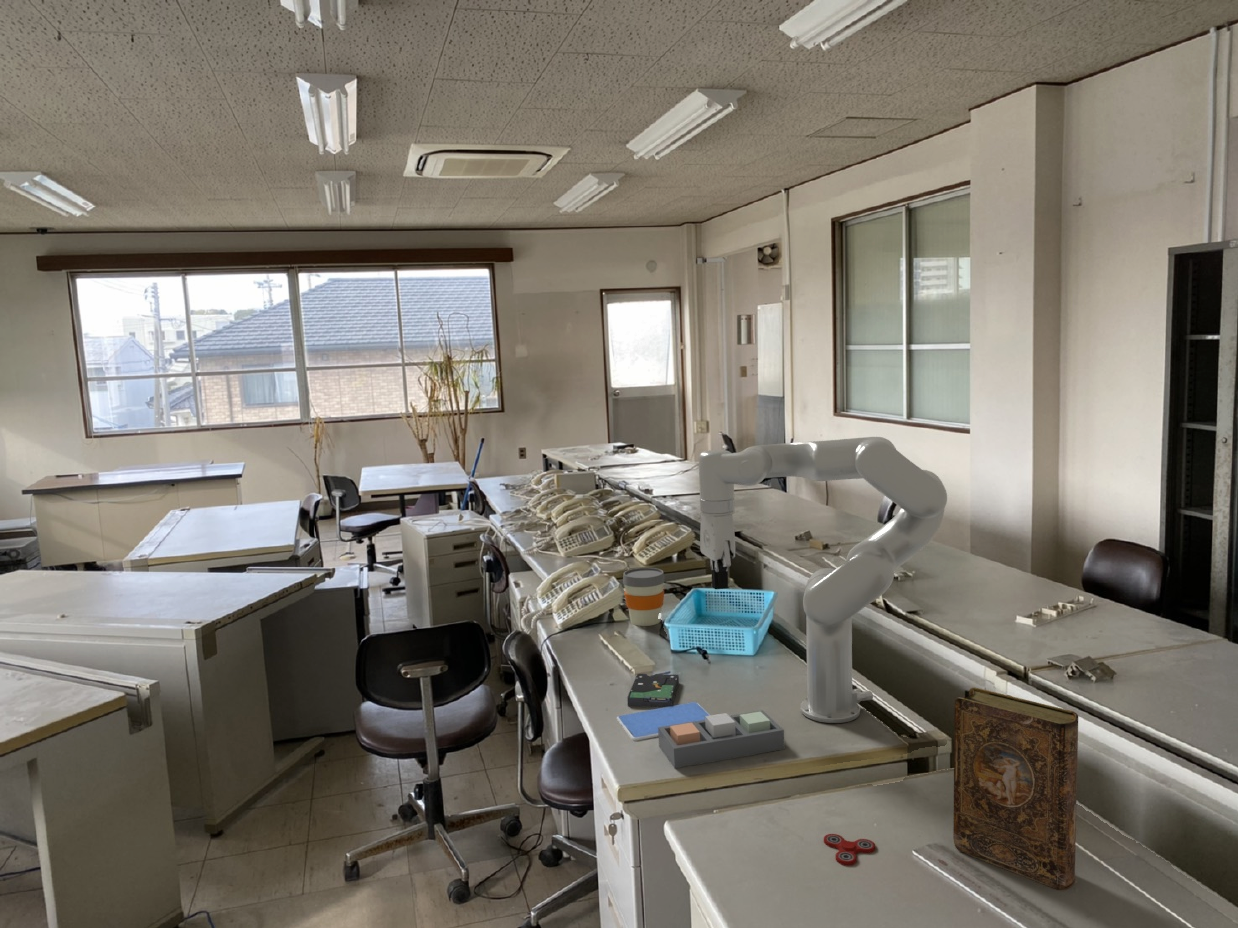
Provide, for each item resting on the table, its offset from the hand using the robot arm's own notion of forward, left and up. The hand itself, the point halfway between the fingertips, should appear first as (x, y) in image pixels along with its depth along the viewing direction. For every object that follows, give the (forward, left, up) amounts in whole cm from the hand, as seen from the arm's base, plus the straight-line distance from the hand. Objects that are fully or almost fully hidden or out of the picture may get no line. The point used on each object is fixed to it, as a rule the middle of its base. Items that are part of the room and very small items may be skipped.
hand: (720, 587), depth 187 cm
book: (-19, +70, -27) cm, 78 cm away
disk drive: (+13, -11, -28) cm, 33 cm away
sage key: (+1, +19, -24) cm, 31 cm away
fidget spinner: (+2, +59, -28) cm, 65 cm away
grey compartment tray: (+8, +20, -27) cm, 34 cm away
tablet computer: (+15, +4, -28) cm, 32 cm away
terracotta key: (+16, +20, -24) cm, 35 cm away
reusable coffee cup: (-1, -65, -27) cm, 71 cm away
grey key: (+9, +19, -24) cm, 32 cm away
